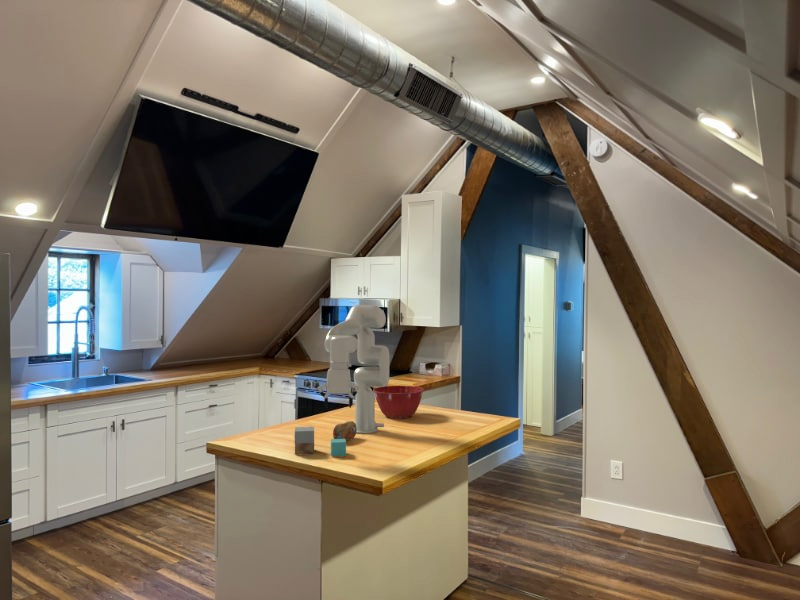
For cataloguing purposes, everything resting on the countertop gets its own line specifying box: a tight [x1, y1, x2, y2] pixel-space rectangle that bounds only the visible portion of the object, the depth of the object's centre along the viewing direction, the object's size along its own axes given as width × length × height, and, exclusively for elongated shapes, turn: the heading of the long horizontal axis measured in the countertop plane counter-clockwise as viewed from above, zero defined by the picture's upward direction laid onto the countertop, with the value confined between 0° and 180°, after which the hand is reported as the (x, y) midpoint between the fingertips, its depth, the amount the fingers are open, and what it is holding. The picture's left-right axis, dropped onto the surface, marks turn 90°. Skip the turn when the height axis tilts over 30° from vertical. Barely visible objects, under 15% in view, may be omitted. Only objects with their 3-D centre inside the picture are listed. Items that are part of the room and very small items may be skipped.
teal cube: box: [330, 438, 347, 457], centre depth 236 cm, size 6×6×6 cm
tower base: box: [294, 442, 315, 455], centre depth 240 cm, size 8×8×5 cm
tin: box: [332, 421, 357, 442], centre depth 261 cm, size 15×3×8 cm, turn 148°
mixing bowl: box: [373, 385, 424, 419], centre depth 317 cm, size 28×28×16 cm
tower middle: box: [294, 426, 315, 444], centre depth 240 cm, size 8×8×5 cm
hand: (338, 407), depth 236 cm, fingers open, 9 cm apart
